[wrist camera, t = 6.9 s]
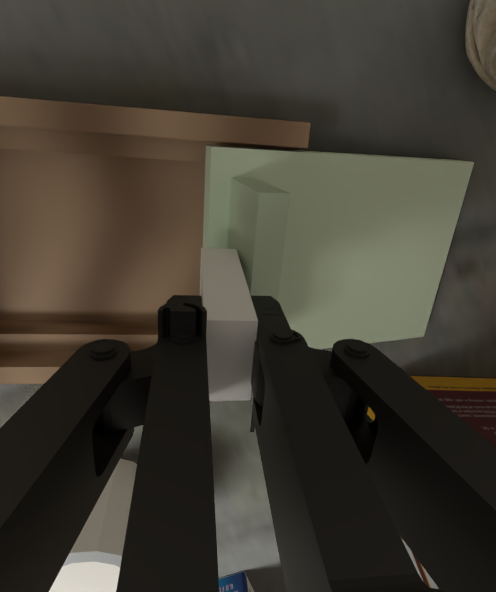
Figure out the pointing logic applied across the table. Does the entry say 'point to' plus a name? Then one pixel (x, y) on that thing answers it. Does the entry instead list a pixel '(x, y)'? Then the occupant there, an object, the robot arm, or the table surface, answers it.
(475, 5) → the carving
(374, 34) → the table surface
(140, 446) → the robot arm
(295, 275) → the lid
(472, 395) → the supplement box
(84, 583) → the white cup
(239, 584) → the juice carton
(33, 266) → the box
